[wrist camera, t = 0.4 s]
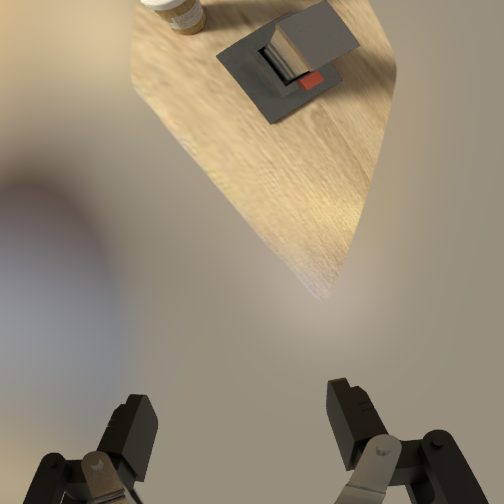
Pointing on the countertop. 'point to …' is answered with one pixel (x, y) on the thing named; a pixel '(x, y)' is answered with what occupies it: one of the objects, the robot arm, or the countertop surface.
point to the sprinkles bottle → (179, 14)
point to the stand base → (272, 75)
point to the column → (308, 41)
